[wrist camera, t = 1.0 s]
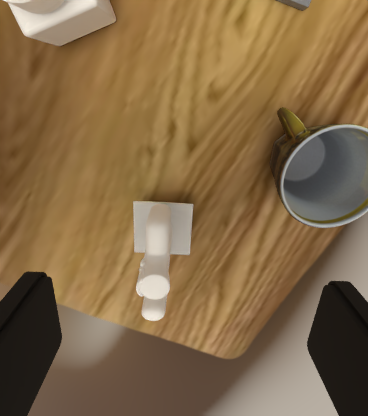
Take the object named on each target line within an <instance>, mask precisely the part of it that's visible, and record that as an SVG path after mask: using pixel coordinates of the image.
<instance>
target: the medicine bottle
mask: <svg viewBox="0 0 368 416" xmlns="http://www.w3.org/2000/svg"><path fill="white" fill-rule="evenodd" d="M3 1H6V2H8V4H9V6H10V8H11V10H12V12H13V14H14V16H15V18H16V20H17V22H18V24H19V26H20V28H21V30H22V32H23V34H24V35H25V36H27V37H29V38H33V39H36V40H39V41H43V42H46V43H50V44H53V45H56V46H62V45H64V44H66V43H68V42H71V41H73V40H75V39H78V38H80V37H82V36H85V35H87V34H89V33H91V32H94V31H96V30H98V29H101V28H103V27H105V26H107V25H110V24H112V23H114V22H115V21H116V16H115V14H114V11H113V8H112V6H111V3H110V0H3Z"/></svg>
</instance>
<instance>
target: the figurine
mask: <svg viewBox="0 0 368 416" xmlns="http://www.w3.org/2000/svg"><path fill="white" fill-rule="evenodd" d="M133 211H134V252H141V253H145V256H144V258H143V259H142V261H141V263H140V268H139V271H140V273H139V276H138V280H137V285H136V291H137V293H138V295H139V296H143V295H144V301H143V306H142V315H143V317H144V318H145V319H147V320H150V321H157V320H160V319H161V318H162V317H163V316H164V314H165V308H166V300H167V294H168V292H169V289H170V281H169V273H168V270H169V261H170V254H179V255H190V243H191V229H192V215H193V204H187V203H173V202H154V201H133Z"/></svg>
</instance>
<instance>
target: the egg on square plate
mask: <svg viewBox="0 0 368 416" xmlns="http://www.w3.org/2000/svg"><path fill="white" fill-rule="evenodd" d="M277 1H279V2H282V3H284V4H287V5H289V6H292V7H294V8H297V9H299V10H302V11H303V10H305V9H306V8H308V7H309V4H310V2H311V0H277Z"/></svg>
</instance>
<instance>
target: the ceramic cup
mask: <svg viewBox="0 0 368 416" xmlns="http://www.w3.org/2000/svg"><path fill="white" fill-rule="evenodd" d="M277 114H278V117H279V119H280V121H281V124H282V126H283V129H284V132H285V134H284V135H283V136H282V137H280V138H279V139H278V140H277V141H275V143H274V145H273V150H272V155H271V160H270V167H271V170H272V173H273V176H274V179H275V184H276V188H277V191H278V194H279V196H280V199H281V201H282V203H283V205H284V207H285V208H286V210H287V211H288V213H289V214H290V215H291V216H292V217H293V218H295V219H296V220H298V221H299V222H301V223H303V224H306V225H308V226H312V227H317V228H331V227H337V226H341V225H344V224H347V223H349V222H352V221H354V220H355V219H357V218H359V217H361V216H362V215H363V214H365V213H366V212H367V211H368V128H366V127H363V126H359V125H354V124H330V125H322V126H315V127H310V128H305V127H304V125H303V123H302V122H301V121H300V119H299V118H298V117H297V116H296V115H295V114H293V113H292V112H291V111H289V110H288V109H286V108H283V107H282V108H280V109H279V110H278V112H277Z"/></svg>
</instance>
